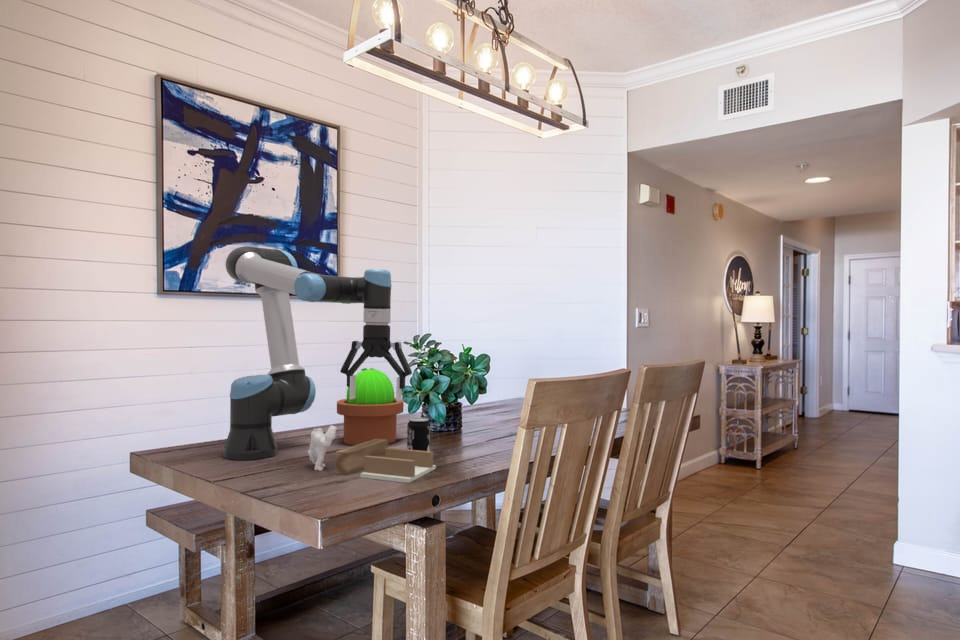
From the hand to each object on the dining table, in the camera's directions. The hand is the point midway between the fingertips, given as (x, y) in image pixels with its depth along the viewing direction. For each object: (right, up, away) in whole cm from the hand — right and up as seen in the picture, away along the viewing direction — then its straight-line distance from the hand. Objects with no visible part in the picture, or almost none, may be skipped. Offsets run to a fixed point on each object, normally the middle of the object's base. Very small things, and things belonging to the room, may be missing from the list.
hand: (375, 399), depth 171 cm
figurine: (-14, -18, -4) cm, 23 cm away
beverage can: (+11, -19, +6) cm, 23 cm away
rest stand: (+8, -18, -9) cm, 22 cm away
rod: (-3, -19, -2) cm, 19 cm away
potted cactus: (-7, -19, +33) cm, 38 cm away
